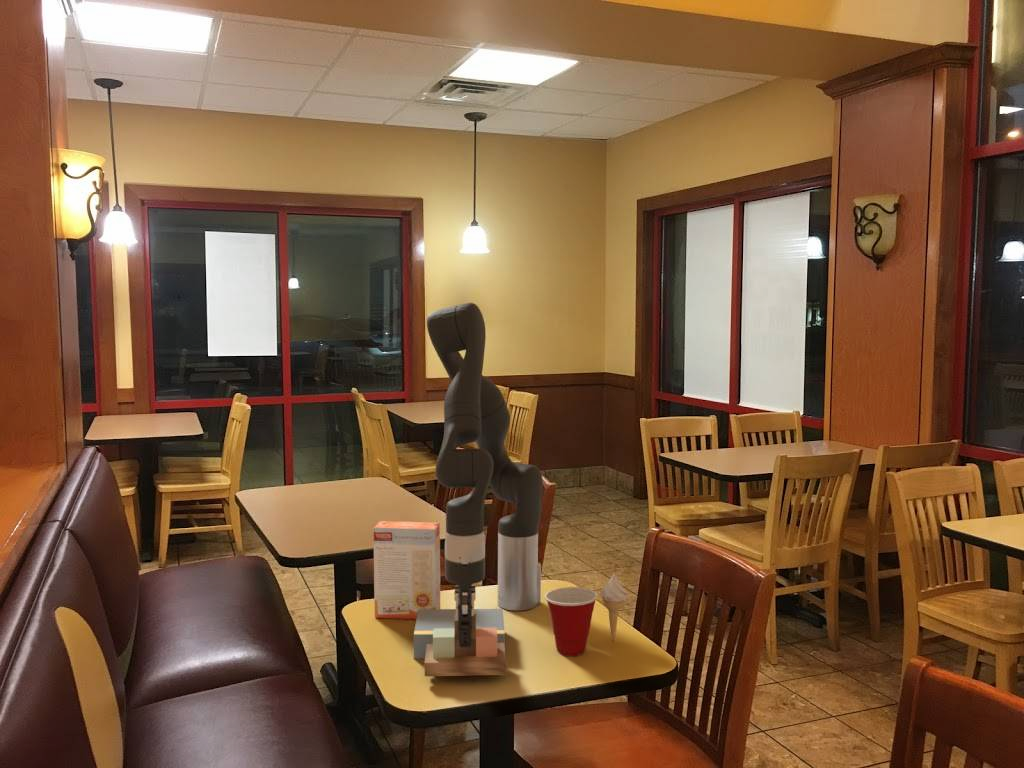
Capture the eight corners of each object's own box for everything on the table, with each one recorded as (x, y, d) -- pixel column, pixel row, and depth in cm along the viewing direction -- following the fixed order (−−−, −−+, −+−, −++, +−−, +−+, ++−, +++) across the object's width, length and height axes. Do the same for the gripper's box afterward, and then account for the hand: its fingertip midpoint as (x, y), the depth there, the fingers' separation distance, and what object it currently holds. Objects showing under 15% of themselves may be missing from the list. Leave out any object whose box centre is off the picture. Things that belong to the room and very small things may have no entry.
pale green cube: (454, 648, 160) (454, 628, 159) (454, 657, 156) (454, 637, 156) (434, 648, 160) (433, 628, 159) (433, 657, 156) (432, 637, 155)
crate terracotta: (496, 647, 160) (496, 627, 160) (497, 656, 156) (497, 636, 156) (475, 647, 160) (475, 627, 160) (475, 657, 156) (475, 636, 156)
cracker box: (441, 611, 190) (441, 521, 187) (436, 621, 184) (435, 529, 181) (380, 608, 191) (379, 519, 189) (373, 618, 185) (372, 526, 183)
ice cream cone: (607, 648, 171) (609, 578, 169) (594, 638, 176) (596, 569, 174) (631, 644, 173) (633, 574, 171) (617, 633, 178) (619, 566, 176)
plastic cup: (567, 634, 178) (568, 579, 176) (607, 650, 170) (609, 593, 169) (532, 649, 170) (533, 592, 169) (572, 666, 163) (573, 607, 161)
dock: (502, 631, 179) (502, 608, 178) (504, 658, 166) (504, 633, 166) (418, 631, 178) (418, 609, 178) (413, 658, 165) (413, 634, 165)
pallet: (504, 655, 163) (504, 608, 162) (505, 675, 155) (505, 625, 154) (426, 657, 162) (426, 609, 161) (424, 676, 154) (424, 626, 153)
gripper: (445, 542, 162) (446, 627, 165) (443, 567, 149) (444, 659, 151) (484, 542, 163) (484, 626, 165) (485, 566, 149) (485, 658, 151)
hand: (465, 642), depth 158 cm, fingers closed on pallet, 3 cm apart
